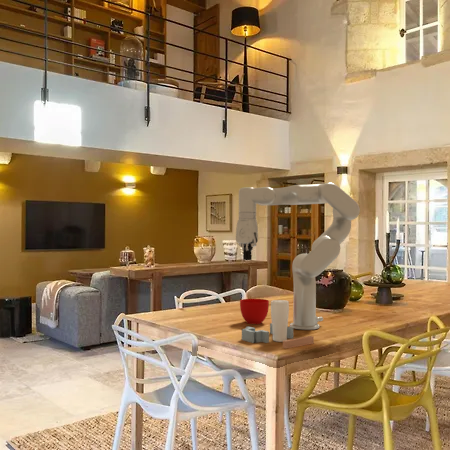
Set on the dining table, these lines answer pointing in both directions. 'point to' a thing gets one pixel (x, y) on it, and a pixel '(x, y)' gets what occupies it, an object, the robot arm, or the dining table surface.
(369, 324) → the dining table surface
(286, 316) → the drinking glass
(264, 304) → the ceramic cup
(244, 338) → the channel
